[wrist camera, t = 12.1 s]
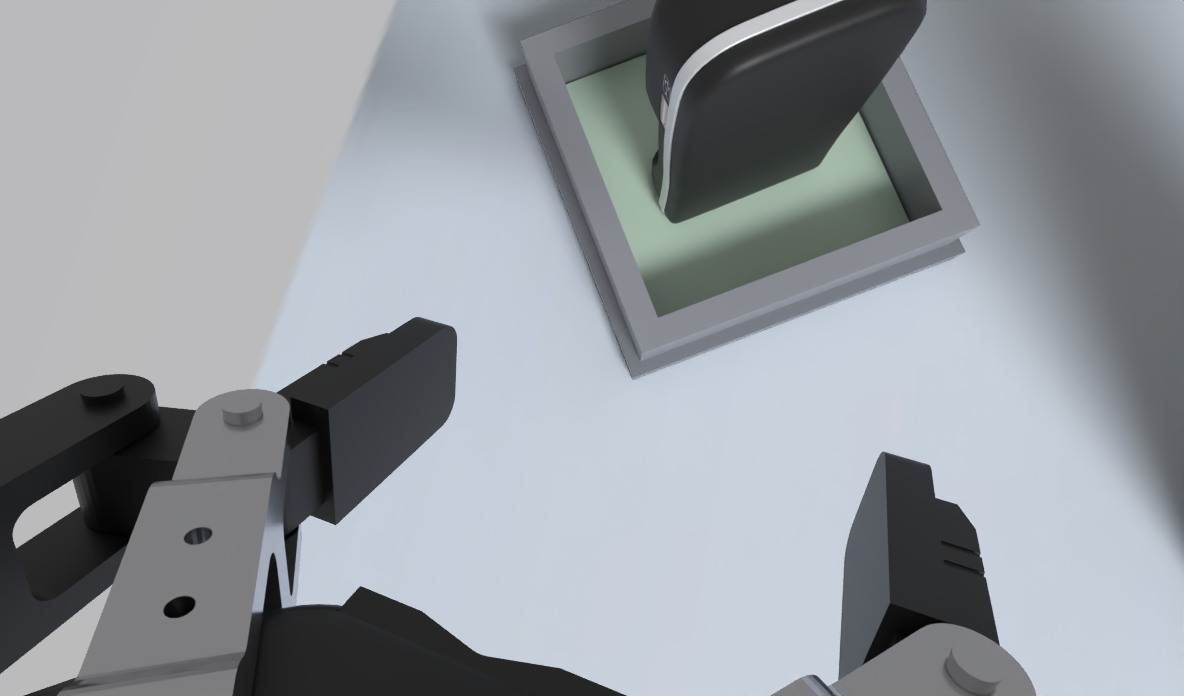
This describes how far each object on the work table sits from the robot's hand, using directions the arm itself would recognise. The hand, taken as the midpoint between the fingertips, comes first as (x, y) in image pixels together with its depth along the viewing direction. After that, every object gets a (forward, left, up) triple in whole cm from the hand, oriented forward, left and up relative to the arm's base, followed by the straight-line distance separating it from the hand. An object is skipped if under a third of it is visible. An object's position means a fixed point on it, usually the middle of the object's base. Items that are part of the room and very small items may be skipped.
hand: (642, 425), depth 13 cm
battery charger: (-8, -9, -14) cm, 19 cm away
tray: (-8, -9, -15) cm, 19 cm away
